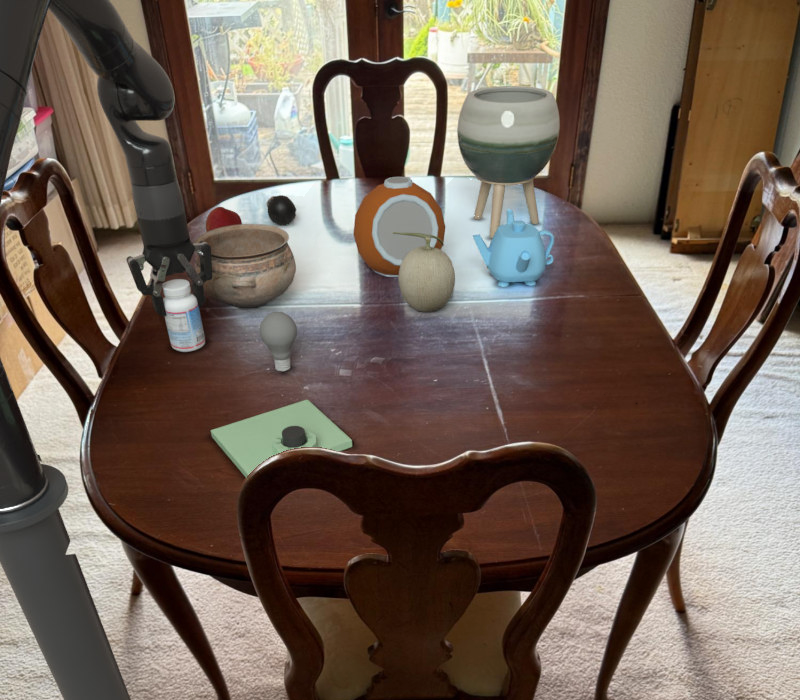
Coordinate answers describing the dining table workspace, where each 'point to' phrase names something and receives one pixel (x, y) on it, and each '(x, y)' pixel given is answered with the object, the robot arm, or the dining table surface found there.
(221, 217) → the apple
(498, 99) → the planter
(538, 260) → the teapot
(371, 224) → the alarm clock
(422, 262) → the fruit
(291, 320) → the light bulb
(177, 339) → the pill bottle
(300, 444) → the button
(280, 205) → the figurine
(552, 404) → the dining table surface
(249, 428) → the scale
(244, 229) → the cooking pot
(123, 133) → the robot arm
